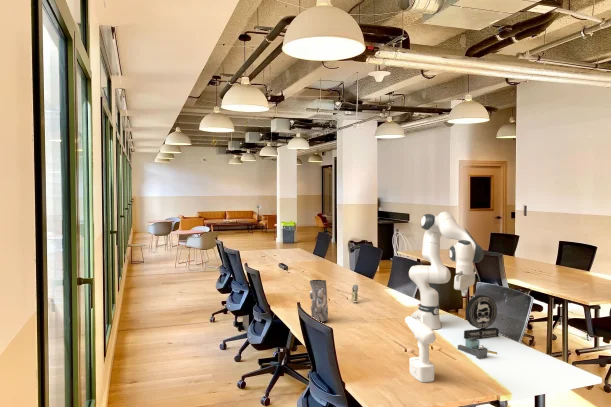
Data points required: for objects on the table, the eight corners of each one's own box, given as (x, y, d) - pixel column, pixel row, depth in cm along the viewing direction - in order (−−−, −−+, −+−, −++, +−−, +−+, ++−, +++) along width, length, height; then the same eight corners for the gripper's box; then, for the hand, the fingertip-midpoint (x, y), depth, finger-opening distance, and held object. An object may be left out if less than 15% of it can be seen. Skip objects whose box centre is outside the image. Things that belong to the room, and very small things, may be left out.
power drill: (415, 364, 225) (415, 314, 225) (440, 384, 202) (440, 328, 201) (399, 365, 223) (399, 315, 223) (422, 386, 200) (422, 329, 199)
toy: (336, 301, 356) (335, 282, 356) (366, 299, 362) (366, 281, 361) (339, 304, 347) (339, 285, 346) (371, 302, 352) (371, 283, 352)
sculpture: (327, 324, 294) (326, 281, 293) (308, 323, 296) (307, 281, 296) (329, 319, 305) (329, 278, 305) (311, 318, 308) (311, 277, 307)
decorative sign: (466, 340, 261) (466, 297, 260) (463, 338, 264) (463, 296, 263) (498, 336, 267) (498, 294, 266) (495, 335, 269) (495, 293, 269)
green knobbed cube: (465, 347, 249) (465, 338, 249) (472, 346, 251) (473, 337, 251) (471, 350, 244) (471, 341, 244) (479, 349, 246) (479, 340, 246)
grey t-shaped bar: (455, 349, 245) (455, 338, 245) (463, 347, 248) (463, 336, 248) (479, 359, 231) (479, 346, 231) (487, 357, 234) (487, 344, 234)
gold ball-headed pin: (482, 352, 241) (482, 350, 241) (483, 350, 243) (484, 349, 243) (495, 354, 238) (495, 353, 237) (497, 353, 239) (497, 351, 239)
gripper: (462, 273, 236) (462, 299, 237) (477, 268, 252) (477, 293, 252) (450, 272, 240) (450, 298, 241) (465, 267, 256) (465, 291, 256)
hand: (464, 295), depth 246 cm, fingers closed
